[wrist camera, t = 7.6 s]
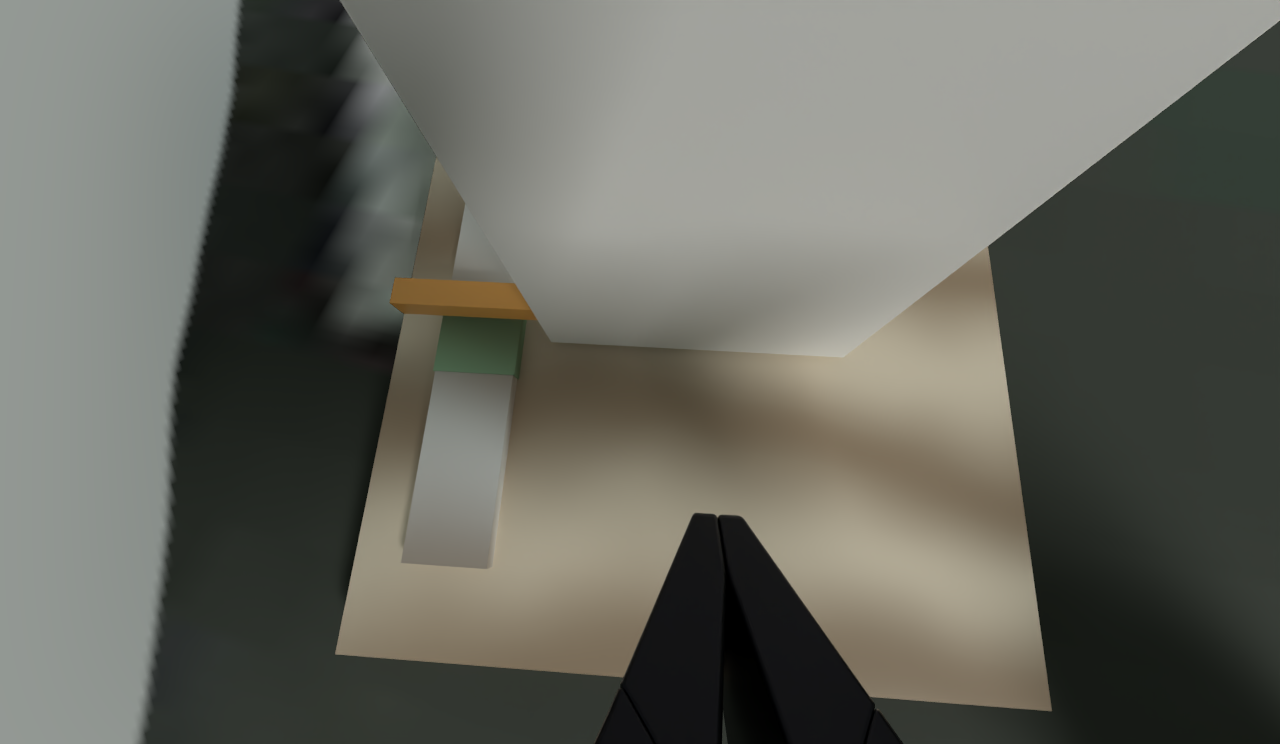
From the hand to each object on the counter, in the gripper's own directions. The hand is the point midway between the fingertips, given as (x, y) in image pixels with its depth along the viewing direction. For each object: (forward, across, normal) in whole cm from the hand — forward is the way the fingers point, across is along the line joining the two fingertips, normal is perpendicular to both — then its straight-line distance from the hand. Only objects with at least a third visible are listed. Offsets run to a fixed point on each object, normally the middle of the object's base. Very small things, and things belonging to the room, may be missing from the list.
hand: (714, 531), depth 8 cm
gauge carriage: (+9, +2, -2) cm, 10 cm away
